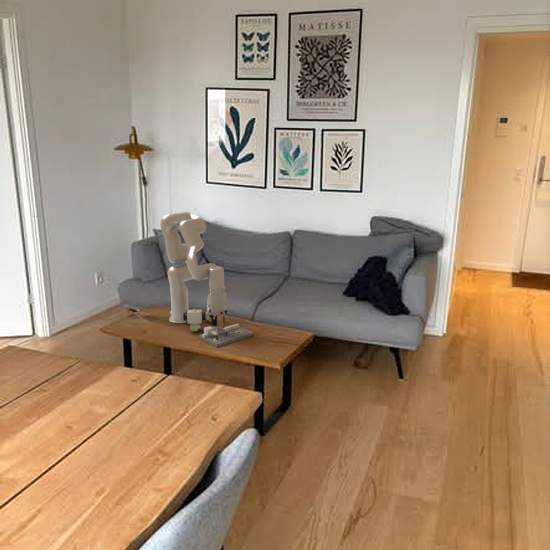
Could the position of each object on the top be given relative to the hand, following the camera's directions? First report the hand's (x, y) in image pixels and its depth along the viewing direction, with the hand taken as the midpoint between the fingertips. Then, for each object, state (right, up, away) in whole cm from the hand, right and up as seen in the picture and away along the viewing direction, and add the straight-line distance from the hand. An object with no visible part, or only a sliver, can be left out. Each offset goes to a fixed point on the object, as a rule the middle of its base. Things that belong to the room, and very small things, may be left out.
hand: (218, 324), depth 281 cm
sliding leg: (+2, -5, -1) cm, 5 cm away
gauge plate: (+4, -7, 0) cm, 8 cm away
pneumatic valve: (-13, -4, +10) cm, 17 cm away
